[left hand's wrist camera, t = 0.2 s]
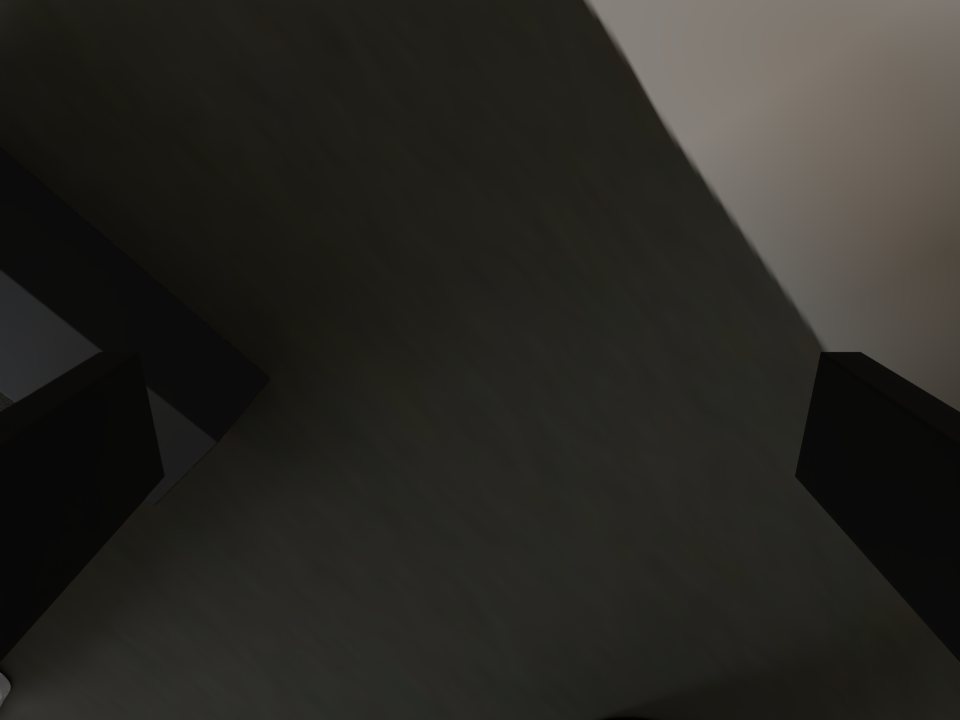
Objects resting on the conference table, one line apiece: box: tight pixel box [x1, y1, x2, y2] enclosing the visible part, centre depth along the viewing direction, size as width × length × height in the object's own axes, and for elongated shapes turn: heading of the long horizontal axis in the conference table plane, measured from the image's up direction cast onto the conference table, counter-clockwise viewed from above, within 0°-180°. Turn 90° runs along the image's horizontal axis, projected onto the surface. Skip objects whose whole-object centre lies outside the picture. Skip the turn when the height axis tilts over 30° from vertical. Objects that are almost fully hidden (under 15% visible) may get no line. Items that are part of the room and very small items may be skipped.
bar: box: [0, 148, 270, 505], centre depth 35 cm, size 24×6×9 cm, turn 44°
